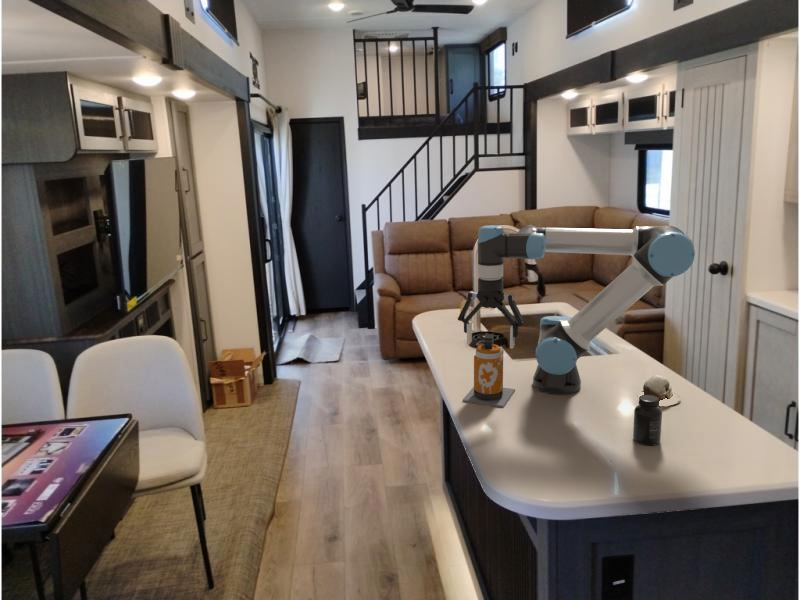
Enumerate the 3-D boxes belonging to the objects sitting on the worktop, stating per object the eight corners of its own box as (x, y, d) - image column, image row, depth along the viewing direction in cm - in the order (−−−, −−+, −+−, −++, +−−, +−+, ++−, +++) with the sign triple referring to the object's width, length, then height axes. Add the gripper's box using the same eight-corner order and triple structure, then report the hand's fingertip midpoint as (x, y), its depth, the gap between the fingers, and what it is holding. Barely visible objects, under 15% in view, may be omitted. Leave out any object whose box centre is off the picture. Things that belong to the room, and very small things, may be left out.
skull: (656, 384, 201) (675, 369, 193) (672, 413, 196) (693, 399, 188) (626, 390, 196) (645, 374, 189) (643, 420, 191) (663, 405, 183)
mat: (515, 390, 202) (515, 389, 201) (503, 407, 189) (503, 405, 189) (476, 385, 207) (476, 383, 207) (462, 401, 194) (462, 399, 194)
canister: (472, 400, 194) (472, 338, 189) (475, 387, 204) (475, 327, 199) (502, 402, 192) (502, 339, 187) (503, 388, 202) (504, 328, 197)
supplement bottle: (659, 436, 169) (662, 394, 166) (660, 447, 163) (664, 404, 160) (632, 433, 171) (635, 391, 168) (632, 444, 165) (635, 401, 162)
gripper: (534, 277, 187) (533, 345, 192) (455, 272, 197) (456, 337, 202) (529, 282, 180) (528, 352, 185) (447, 277, 190) (448, 344, 195)
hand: (490, 345), depth 194 cm, fingers open, 13 cm apart
